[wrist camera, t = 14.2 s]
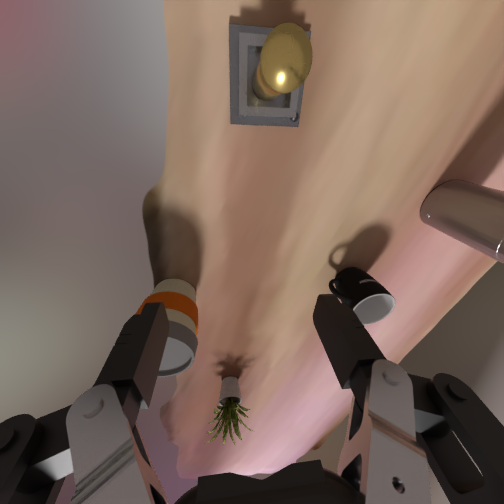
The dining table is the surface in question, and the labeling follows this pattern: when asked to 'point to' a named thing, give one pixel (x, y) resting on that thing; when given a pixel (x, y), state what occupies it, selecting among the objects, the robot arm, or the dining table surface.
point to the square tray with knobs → (241, 87)
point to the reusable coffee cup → (177, 324)
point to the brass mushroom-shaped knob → (282, 62)
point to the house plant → (229, 408)
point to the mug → (363, 295)
